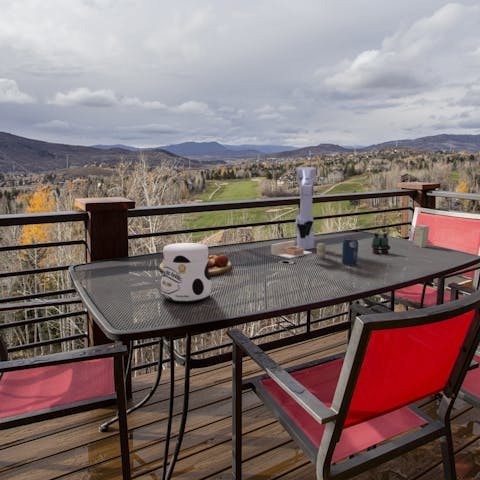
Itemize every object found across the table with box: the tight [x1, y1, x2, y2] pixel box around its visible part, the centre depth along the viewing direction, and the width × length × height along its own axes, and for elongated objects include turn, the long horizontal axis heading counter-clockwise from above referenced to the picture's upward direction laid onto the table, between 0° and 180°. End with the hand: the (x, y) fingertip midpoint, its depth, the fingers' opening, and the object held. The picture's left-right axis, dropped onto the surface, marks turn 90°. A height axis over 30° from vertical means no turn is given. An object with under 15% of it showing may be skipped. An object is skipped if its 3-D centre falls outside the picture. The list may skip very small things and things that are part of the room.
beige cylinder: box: [316, 242, 327, 260], centre depth 201 cm, size 4×4×7 cm
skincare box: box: [413, 224, 430, 248], centre depth 231 cm, size 6×4×12 cm
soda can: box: [341, 237, 359, 266], centre depth 189 cm, size 7×7×12 cm
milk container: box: [160, 242, 212, 303], centre depth 139 cm, size 17×17×18 cm
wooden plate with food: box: [158, 254, 232, 277], centre depth 180 cm, size 32×32×8 cm
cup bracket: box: [270, 240, 313, 259], centre depth 209 cm, size 18×12×5 cm
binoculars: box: [371, 232, 391, 256], centre depth 212 cm, size 9×11×10 cm
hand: (304, 236), depth 201 cm, fingers open, 7 cm apart
